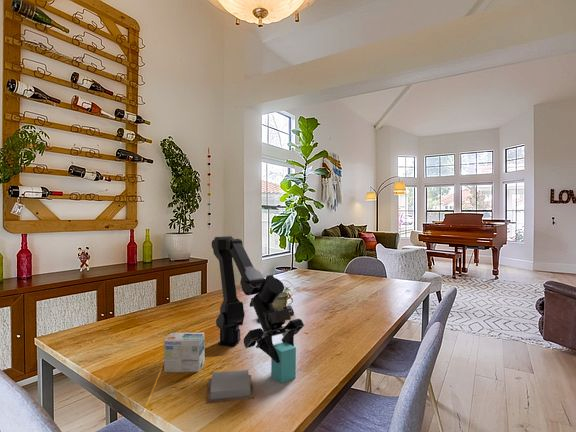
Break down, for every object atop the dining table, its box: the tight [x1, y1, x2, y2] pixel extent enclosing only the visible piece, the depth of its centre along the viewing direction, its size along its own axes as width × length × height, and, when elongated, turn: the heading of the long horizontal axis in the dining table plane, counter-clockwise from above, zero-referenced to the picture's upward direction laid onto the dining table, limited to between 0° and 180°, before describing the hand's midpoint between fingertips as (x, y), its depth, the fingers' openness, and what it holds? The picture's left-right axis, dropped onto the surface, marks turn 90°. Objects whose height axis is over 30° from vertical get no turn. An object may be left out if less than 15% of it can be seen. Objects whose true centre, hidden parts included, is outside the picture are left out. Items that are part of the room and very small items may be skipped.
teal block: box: [270, 342, 297, 384], centre depth 94 cm, size 5×5×10 cm
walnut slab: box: [205, 374, 256, 404], centre depth 88 cm, size 12×12×2 cm
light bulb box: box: [163, 331, 205, 373], centre depth 100 cm, size 11×7×11 cm, turn 92°
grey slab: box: [210, 369, 250, 400], centre depth 89 cm, size 10×10×2 cm
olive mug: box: [272, 291, 294, 311], centre depth 152 cm, size 13×10×10 cm
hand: (286, 360), depth 93 cm, fingers closed on teal block, 5 cm apart
